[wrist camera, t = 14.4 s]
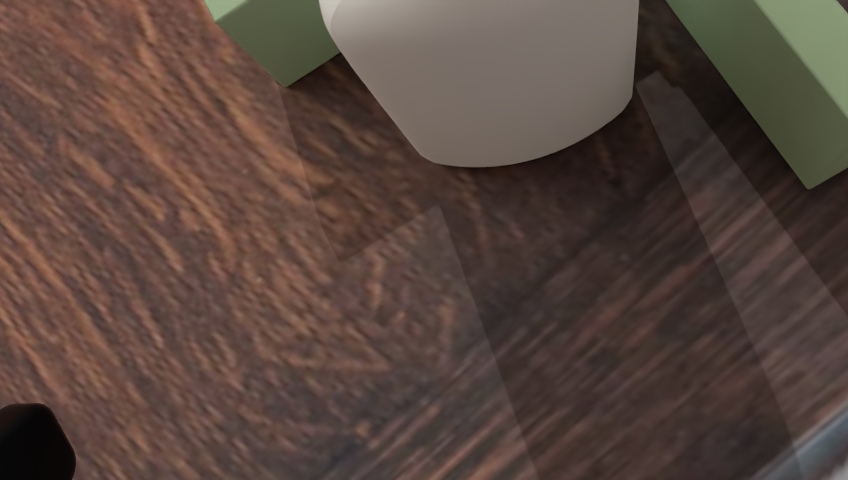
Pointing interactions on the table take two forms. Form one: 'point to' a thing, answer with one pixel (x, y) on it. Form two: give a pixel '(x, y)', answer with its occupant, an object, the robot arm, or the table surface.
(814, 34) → the corner rail
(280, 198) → the table surface
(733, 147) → the table surface
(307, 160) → the table surface
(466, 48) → the eye dropper bottle
